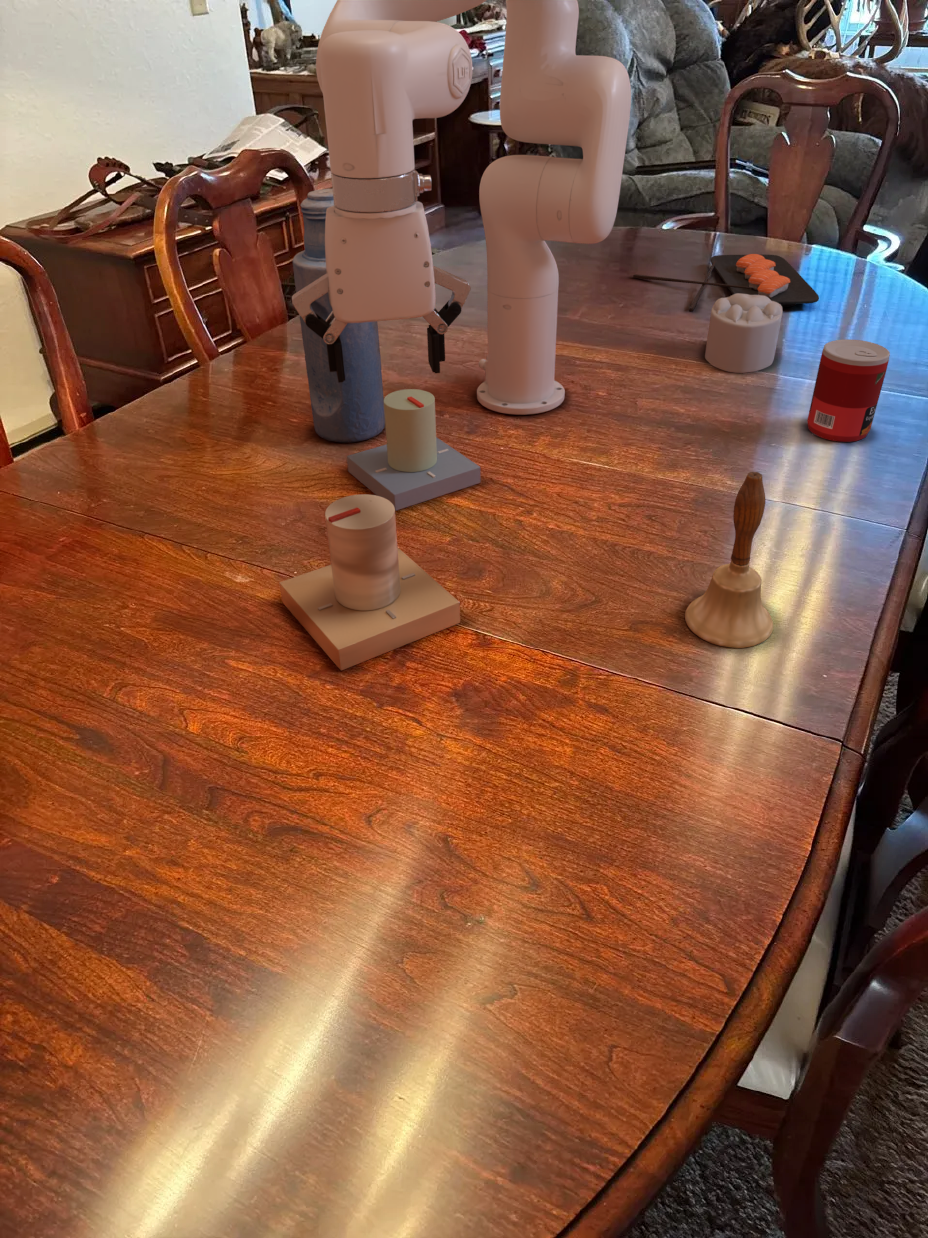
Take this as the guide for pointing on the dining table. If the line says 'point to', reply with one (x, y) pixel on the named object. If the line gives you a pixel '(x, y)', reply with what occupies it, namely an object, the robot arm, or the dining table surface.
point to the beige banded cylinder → (363, 551)
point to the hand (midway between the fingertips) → (387, 372)
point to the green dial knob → (410, 430)
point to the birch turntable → (369, 614)
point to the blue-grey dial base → (413, 475)
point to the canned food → (847, 389)
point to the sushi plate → (756, 279)
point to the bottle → (359, 398)
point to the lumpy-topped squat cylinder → (743, 333)
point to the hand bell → (735, 582)
